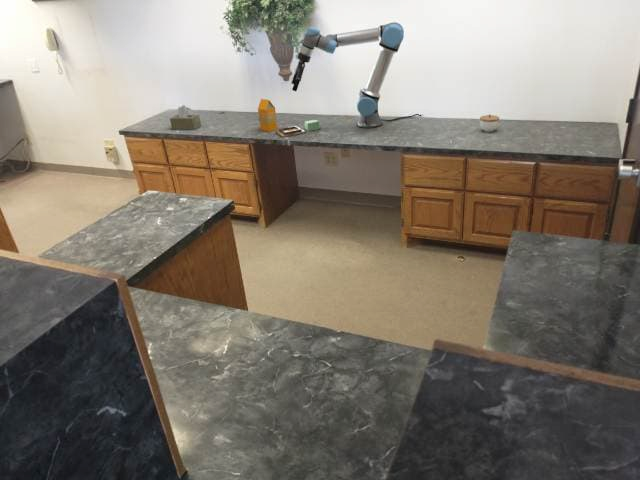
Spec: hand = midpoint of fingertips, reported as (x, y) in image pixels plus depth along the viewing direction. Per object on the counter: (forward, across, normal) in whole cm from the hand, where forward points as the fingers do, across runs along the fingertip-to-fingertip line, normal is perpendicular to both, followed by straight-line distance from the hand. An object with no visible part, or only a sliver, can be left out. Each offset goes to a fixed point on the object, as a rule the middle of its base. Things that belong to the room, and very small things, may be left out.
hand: (293, 87), depth 315 cm
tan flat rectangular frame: (+28, +1, +8) cm, 29 cm away
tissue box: (+63, -38, -57) cm, 94 cm away
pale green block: (+23, -3, +21) cm, 31 cm away
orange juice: (+36, -12, -4) cm, 38 cm away
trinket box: (-24, +37, +113) cm, 121 cm away
